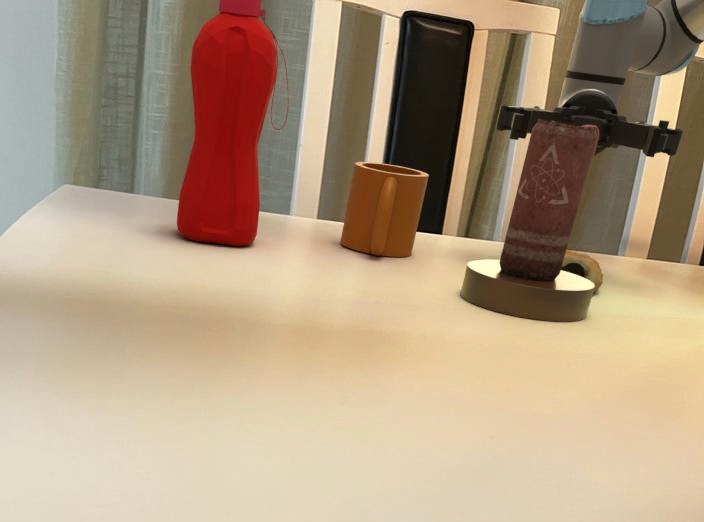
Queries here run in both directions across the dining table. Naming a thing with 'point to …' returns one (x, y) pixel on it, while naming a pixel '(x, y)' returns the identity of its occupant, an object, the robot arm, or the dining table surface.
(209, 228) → the water bottle
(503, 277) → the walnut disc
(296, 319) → the dining table surface
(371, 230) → the mug
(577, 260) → the pastry
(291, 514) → the dining table surface
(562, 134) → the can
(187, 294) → the dining table surface
